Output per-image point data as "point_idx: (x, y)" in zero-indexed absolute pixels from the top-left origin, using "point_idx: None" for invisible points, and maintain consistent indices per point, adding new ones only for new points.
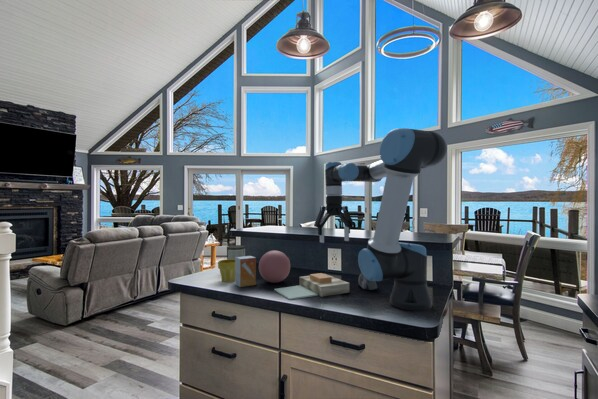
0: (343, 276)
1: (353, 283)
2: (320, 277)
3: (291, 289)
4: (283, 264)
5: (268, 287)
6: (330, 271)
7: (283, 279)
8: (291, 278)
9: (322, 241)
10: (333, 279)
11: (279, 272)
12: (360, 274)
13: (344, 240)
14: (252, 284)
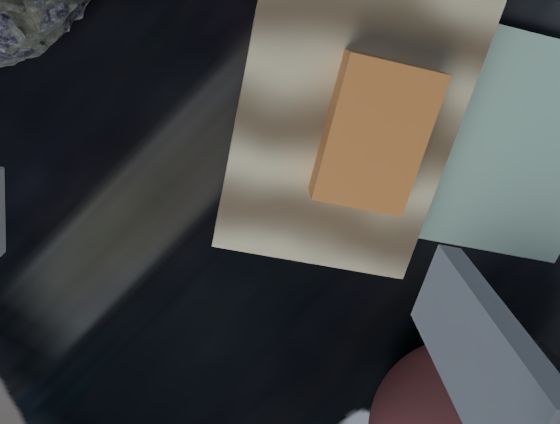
0: (16, 254)
1: (80, 81)
2: (422, 97)
3: (506, 198)
4: None
5: (528, 314)
6: (10, 385)
7: None
8: (314, 383)
9: (465, 263)
10: (286, 87)
11: None
12: (42, 6)
13: (4, 249)
14: None
